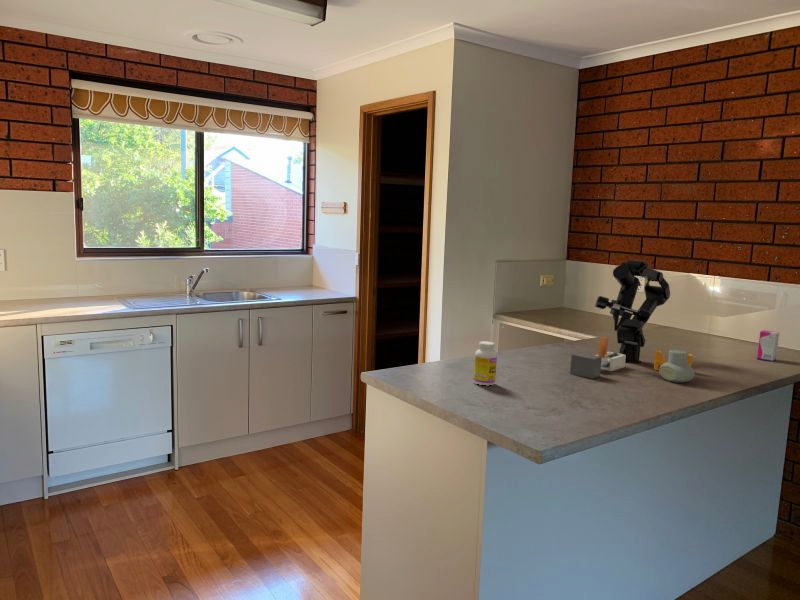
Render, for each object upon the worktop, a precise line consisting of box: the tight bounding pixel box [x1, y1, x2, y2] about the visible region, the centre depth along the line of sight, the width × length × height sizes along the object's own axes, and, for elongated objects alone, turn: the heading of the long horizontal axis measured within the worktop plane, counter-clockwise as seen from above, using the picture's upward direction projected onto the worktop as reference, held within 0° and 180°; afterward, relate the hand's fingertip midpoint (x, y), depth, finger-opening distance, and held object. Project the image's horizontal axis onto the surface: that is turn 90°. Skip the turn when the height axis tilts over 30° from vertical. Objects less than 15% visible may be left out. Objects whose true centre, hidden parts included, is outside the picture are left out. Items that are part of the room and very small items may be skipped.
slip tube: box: [597, 336, 619, 367], centre depth 221 cm, size 16×4×10 cm, turn 137°
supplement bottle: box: [473, 340, 498, 387], centre depth 193 cm, size 7×7×13 cm
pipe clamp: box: [653, 350, 693, 371], centre depth 223 cm, size 12×4×6 cm, turn 72°
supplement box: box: [756, 330, 780, 363], centre depth 251 cm, size 6×6×12 cm
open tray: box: [594, 351, 626, 372], centre depth 224 cm, size 10×7×4 cm, turn 137°
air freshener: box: [658, 349, 696, 384], centre depth 209 cm, size 11×8×10 cm
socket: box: [569, 352, 602, 380], centre depth 211 cm, size 6×8×7 cm
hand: (615, 330), depth 224 cm, fingers closed
